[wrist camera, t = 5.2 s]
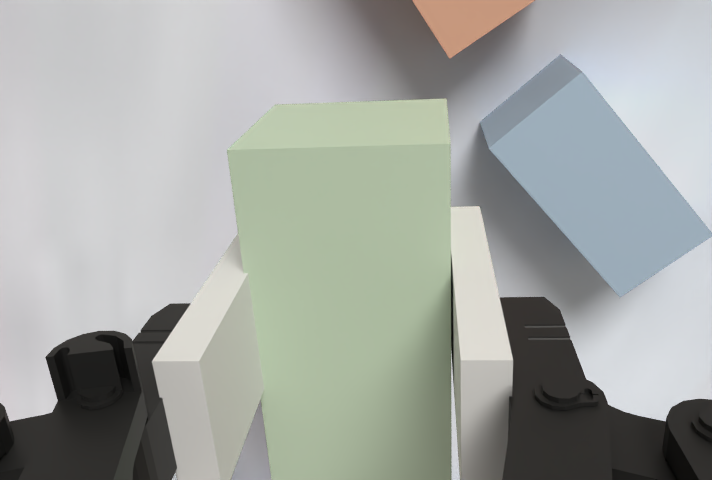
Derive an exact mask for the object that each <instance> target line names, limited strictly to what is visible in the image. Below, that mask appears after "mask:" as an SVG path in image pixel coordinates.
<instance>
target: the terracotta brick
mask: <svg viewBox="0 0 712 480" xmlns="http://www.w3.org/2000/svg"><path fill="white" fill-rule="evenodd" d="M412 1H413V2H414V4H415V6H416V7H417V9H418V10H419V12H420V13H421V15H422V17H423V18H424V20H425V21H426V23H427V24H428V26H429V27H430V29H431V31H432V32H433V34H434V35H435V37H436V38H437V40H438V41H439V43H440V45H441V46H442V48H443V49H444V51H445V52H446V54H447V56H448V57H449V59H450V58H452V57H453V56H455V55H456V54H457V53H459V52H460V51H462V50H463V49H465V48H466V47H468V46H469V45H471V44H472V43H473V42H475V41H476V40H478V39H479V38H481V37H482V36H484V35H485V34H487V33H488V32H490V31H491V30H492V29H494V28H495V27H497V26H498V25H500V24H501V23H503V22H504V21H506V20H507V19H509V18H510V17H511V16H513V15H514V14H516V13H517V12H519V11H520V10H522V9H523V8H525V7H526V6H528V5H529V4H530V3H532V2H533V1H535V0H412Z"/></svg>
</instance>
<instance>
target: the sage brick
mask: <svg viewBox="0 0 712 480" xmlns="http://www.w3.org/2000/svg"><path fill="white" fill-rule="evenodd" d="M227 154H228V161H229V169H230V176H231V183H232V191H233V198H234V206H235V213H236V220H237V228H238V235H239V243H240V250H241V257H242V265H243V272H244V273H248V276H249V284H250V291H251V298H252V305H253V312H254V319H255V326H256V333H257V340H258V347H259V355H260V362H261V369H262V376H263V383H264V391H263V394H262V397H261V405H262V413H263V420H264V428H265V435H266V442H267V450H268V457H269V464H270V472H271V479H272V480H451V156H450V132H449V121H448V109H447V98H445V99H418V100H390V101H363V102H335V103H308V104H280V105H274V106H273V107H272V108H271V109H270V110H269V111H268V112H267V113H266V114H265V115H264V116H263V117H261V118H260V119H259V120H258V121H257V122H256V123H255V124H254V125H253V126H252V127H251V128H250V129H249V130H248V131H247V132H246V133H244V134H243V135H242V136H241V137H240V138H239V139H238V140H237V141H236V142H235V143H234V144H233V145H232V146H231V147H230V148H229V149H227Z"/></svg>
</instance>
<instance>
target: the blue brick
mask: <svg viewBox="0 0 712 480" xmlns="http://www.w3.org/2000/svg"><path fill="white" fill-rule="evenodd" d="M480 124H481V127H482V130H483V133H484V136H485V139H486V142H487V145H488V148H489V149H490V150H491V152H492V153H493V154H494V155H495V156H496V157H497V158H498V160H499V161H500V162H501V163H502V164H503V165H504V166H505V168H506V169H507V170H508V171H509V172H510V173H511V174H512V175H513V177H514V178H515V179H516V180H517V181H518V182H519V183H520V185H521V186H522V187H523V188H524V189H525V190H526V191H527V192H528V194H529V195H530V196H531V197H532V198H533V199H534V200H535V202H536V203H537V204H538V205H539V206H540V207H541V208H542V209H543V211H544V212H545V213H546V214H547V215H548V216H549V217H550V219H551V220H552V221H553V222H554V223H555V224H556V225H557V227H558V228H559V229H560V230H561V231H562V232H563V233H564V234H565V236H566V237H567V238H568V239H569V240H570V241H571V242H572V244H573V245H574V246H575V247H576V248H577V249H578V250H579V251H580V253H581V254H582V255H583V256H584V257H585V258H586V259H587V261H588V262H589V263H590V264H591V265H592V266H593V267H594V269H595V270H596V271H597V272H598V273H599V274H600V275H601V276H602V278H603V279H604V280H605V281H606V282H607V283H608V284H609V286H610V287H611V288H612V289H613V290H614V291H615V292H616V293H617V295H618V296H619V297H622V296H623V295H625V294H626V293H628V292H629V291H631V290H632V289H634V288H635V287H637V286H638V285H640V284H641V283H643V282H644V281H646V280H647V279H649V278H650V277H652V276H653V275H655V274H656V273H658V272H659V271H661V270H662V269H664V268H665V267H667V266H668V265H670V264H671V263H673V262H674V261H676V260H677V259H679V258H680V257H682V256H683V255H685V254H686V253H688V252H689V251H691V250H692V249H694V248H695V247H697V246H698V245H700V244H701V243H703V242H704V241H706V240H707V239H709V238H710V237H712V233H711V231H710V230H709V229H708V228H707V226H706V225H705V224H704V223H703V221H702V220H701V219H700V218H699V216H698V215H697V214H696V213H695V211H694V210H693V209H692V208H691V206H690V205H689V204H688V203H687V201H686V200H685V199H684V198H683V196H682V195H681V194H680V193H679V191H678V190H677V189H676V188H675V186H674V185H673V184H672V183H671V181H670V180H669V179H668V178H667V177H666V175H665V174H664V173H663V172H662V170H661V169H660V168H659V167H658V165H657V164H656V163H655V162H654V160H653V159H652V158H651V157H650V155H649V154H648V153H647V152H646V150H645V149H644V148H643V147H642V145H641V144H640V143H639V142H638V140H637V139H636V138H635V137H634V135H633V134H632V133H631V132H630V130H629V129H628V128H627V127H626V125H625V124H624V123H623V122H622V120H621V119H620V118H619V117H618V115H617V114H616V113H615V112H614V111H613V109H612V108H611V107H610V106H609V104H608V103H607V102H606V101H605V99H604V98H603V97H602V96H601V94H600V93H599V92H598V91H597V89H596V88H595V87H594V86H593V84H592V83H591V82H590V81H589V79H588V78H587V77H586V76H585V74H584V73H583V72H582V71H581V70H580V69H578V68H577V67H576V66H575V65H573V64H572V63H571V62H570V61H568V60H567V59H566V58H565V57H563V56H562V55H561V54H560V55H559V56H558V57H557V58H556V59H554V60H553V61H552V62H551V63H550V64H548V65H547V66H546V67H545V68H544V69H543V70H541V71H540V72H539V73H538V74H537V75H535V76H534V77H533V78H532V79H531V80H529V81H528V82H527V83H526V84H525V85H523V86H522V87H521V88H520V89H519V90H518V91H516V92H515V93H514V94H513V95H512V96H510V97H509V98H508V99H507V100H506V101H504V102H503V103H502V104H501V105H500V106H498V107H497V108H496V109H495V110H494V111H492V112H491V113H490V114H489V115H488V116H487V117H485V118H484V119H483V120H482V121H481V122H480Z"/></svg>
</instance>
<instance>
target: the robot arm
mask: <svg viewBox="0 0 712 480" xmlns="http://www.w3.org/2000/svg"><path fill="white" fill-rule="evenodd" d="M451 351H452V366H453V381H454V397H455V412H456V427H457V442H458V457H459V472H460V480H712V400H708V399H694V400H688V401H682V402H681V403H679V404H677V405H675V406H673V407H672V408H671V409H670V411H669V414H668V416H667V418H666V422H665V421H660V420H656V419H651V418H646V417H641V416H637V415H633V414H630V413H626V412H623V411H621V410H618V409H616V408H614V407H611V406H610V405H608V403H607V400H606V398H605V395H604V393H603V391H602V390H601V389H599V388H598V387H597V386H596V385H595V384H594V383H593V382H591V381H588V380H586V378H585V375H584V372H583V370H582V367H581V365H580V362H579V359H578V357H577V354H576V351H575V349H574V346H573V343H572V341H571V340H570V336H569V333H568V330H567V328H566V327H565V322H564V320H563V317H562V314H561V312H560V310H559V309H558V308H557V307H556V306H555V305H553V304H552V303H551V302H550V301H548V300H547V299H546V298H545V297H504V298H500V297H499V293H498V288H497V283H496V279H495V274H494V270H493V265H492V260H491V256H490V251H489V247H488V242H487V237H486V233H485V228H484V224H483V219H482V214H481V210H480V206H465V207H451ZM46 360H47V364H48V368H49V371H50V375H51V378H52V382H53V385H54V389H55V392H56V396H57V399H58V402H57V404H56V406H55V408H54V410H53V412H52V413H49V414H45V415H41V416H36V417H30V418H25V419H20V420H15V421H10V422H9V419H8V416H7V413H6V410H5V407H4V406H3V405H2V404H1V403H0V480H172V478H173V475H174V473H175V472H176V476H177V480H231V478H232V475H233V472H234V470H235V467H236V464H237V462H238V459H239V456H240V453H241V451H242V448H243V445H244V443H245V440H246V437H247V435H248V432H249V429H250V426H251V424H252V421H253V418H254V416H255V413H256V410H257V407H258V405H259V402H260V399H261V397H262V394H263V391H264V383H263V376H262V369H261V362H260V355H259V347H258V340H257V333H256V326H255V319H254V312H253V305H252V298H251V291H250V284H249V276H248V273H244V272H243V265H242V257H241V250H240V243H239V235H238V234H237V235H236V237H235V238H234V240H233V241H232V243H231V244H230V246H229V247H228V249H227V250H226V252H225V253H224V255H223V256H222V258H221V259H220V261H219V262H218V264H217V265H216V267H215V268H214V270H213V271H212V273H211V274H210V276H209V277H208V279H207V280H206V282H205V283H204V285H203V286H202V288H201V289H200V291H199V292H198V294H197V295H196V296H195V298H194V299H193V301H192V302H191V304H169V305H168V306H166V307H165V308H163V309H162V310H160V311H159V312H157V313H155V314H154V315H152V316H151V317H150V319H149V320H148V321H147V323H146V324H145V325H144V327H143V328H142V329H141V333H138V335H137V336H136V337H135V339H134V340H133V341H132V339H131V338H130V337H129V336H127V335H126V334H124V333H121V332H117V331H97V332H92V333H87V334H82V335H80V336H77V337H74V338H72V339H69V340H67V341H65V342H63V343H62V344H60V345H58V346H57V347H55V348H54V349H53V350H52V351H51V352H50V353H49V354H48V355H47V356H46Z"/></svg>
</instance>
